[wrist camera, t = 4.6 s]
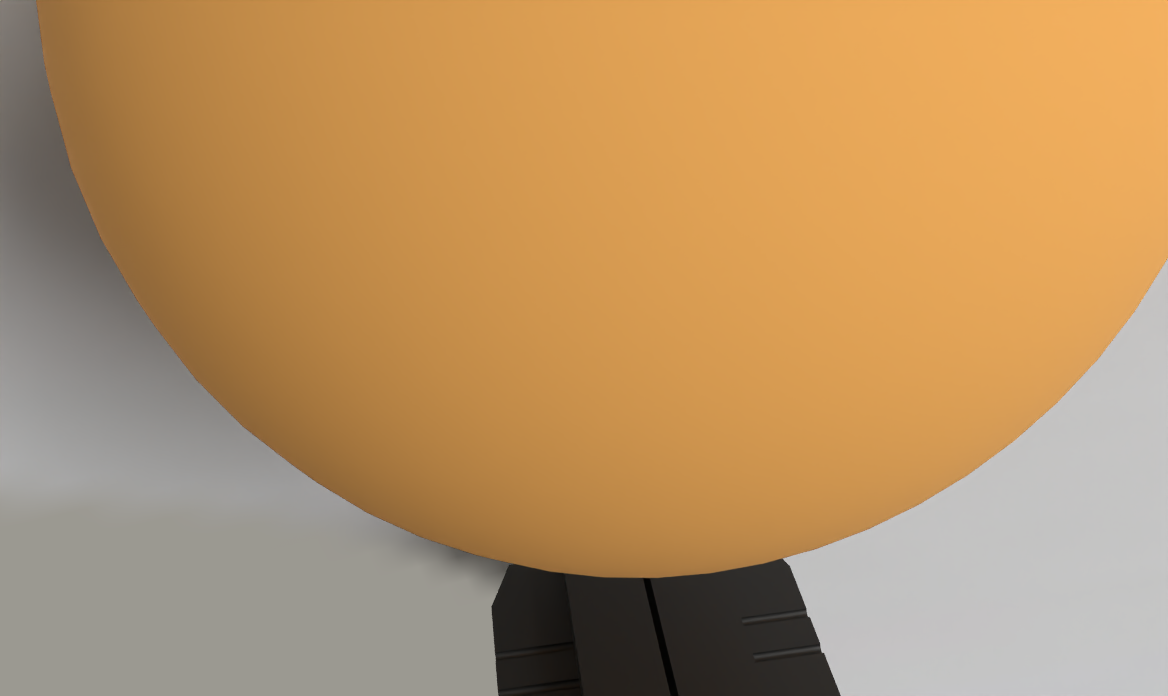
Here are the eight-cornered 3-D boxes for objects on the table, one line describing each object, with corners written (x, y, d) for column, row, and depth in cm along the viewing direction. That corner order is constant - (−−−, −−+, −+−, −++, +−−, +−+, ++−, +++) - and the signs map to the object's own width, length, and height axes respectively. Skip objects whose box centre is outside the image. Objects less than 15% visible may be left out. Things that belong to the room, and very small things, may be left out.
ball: (57, -547, 7) (-997, -1099, 2) (988, -595, 7) (2294, -1134, 2) (268, 287, 10) (120, 929, 5) (894, 218, 10) (1326, 742, 5)
